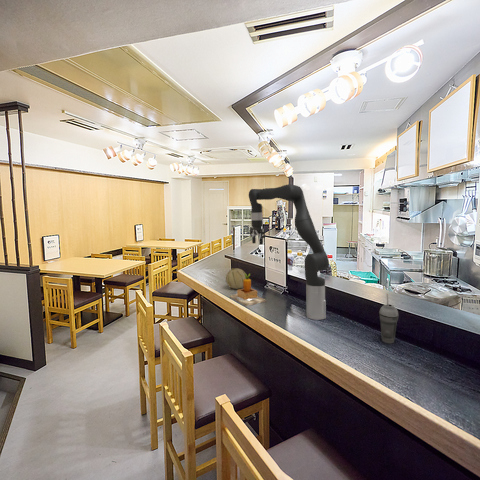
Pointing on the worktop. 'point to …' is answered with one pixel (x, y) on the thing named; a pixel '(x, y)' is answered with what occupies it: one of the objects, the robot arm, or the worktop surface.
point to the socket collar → (247, 295)
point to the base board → (247, 303)
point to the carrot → (247, 283)
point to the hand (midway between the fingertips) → (257, 243)
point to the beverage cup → (388, 322)
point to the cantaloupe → (235, 278)
